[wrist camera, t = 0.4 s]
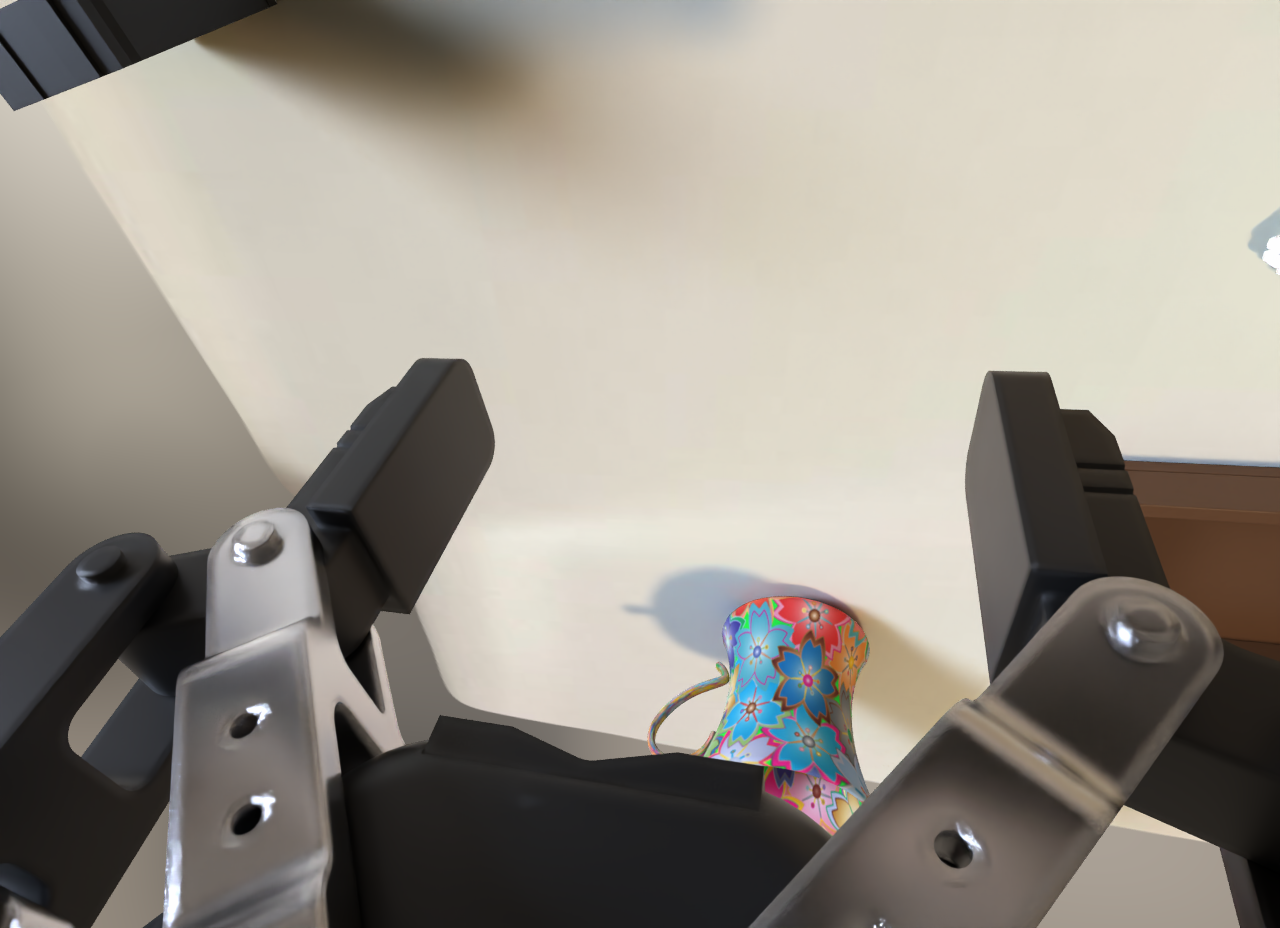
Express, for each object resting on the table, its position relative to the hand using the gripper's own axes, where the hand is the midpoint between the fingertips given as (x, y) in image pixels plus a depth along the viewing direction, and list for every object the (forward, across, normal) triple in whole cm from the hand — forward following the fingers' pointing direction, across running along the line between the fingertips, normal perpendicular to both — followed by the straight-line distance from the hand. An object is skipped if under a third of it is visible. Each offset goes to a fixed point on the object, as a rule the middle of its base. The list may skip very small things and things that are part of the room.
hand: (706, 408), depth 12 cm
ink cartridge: (+17, +20, -4) cm, 27 cm away
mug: (+18, +1, +30) cm, 35 cm away
